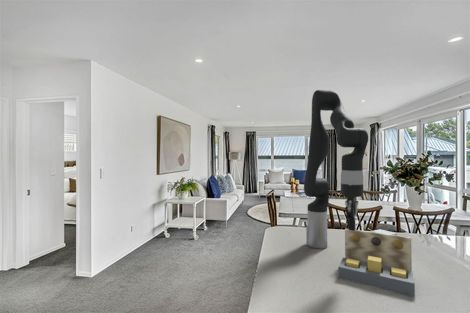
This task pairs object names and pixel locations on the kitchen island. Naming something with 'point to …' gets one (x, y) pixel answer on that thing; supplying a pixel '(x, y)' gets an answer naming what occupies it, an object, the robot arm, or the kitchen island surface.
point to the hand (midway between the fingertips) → (351, 229)
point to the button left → (352, 263)
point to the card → (379, 248)
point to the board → (377, 277)
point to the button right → (398, 272)
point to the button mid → (374, 264)
